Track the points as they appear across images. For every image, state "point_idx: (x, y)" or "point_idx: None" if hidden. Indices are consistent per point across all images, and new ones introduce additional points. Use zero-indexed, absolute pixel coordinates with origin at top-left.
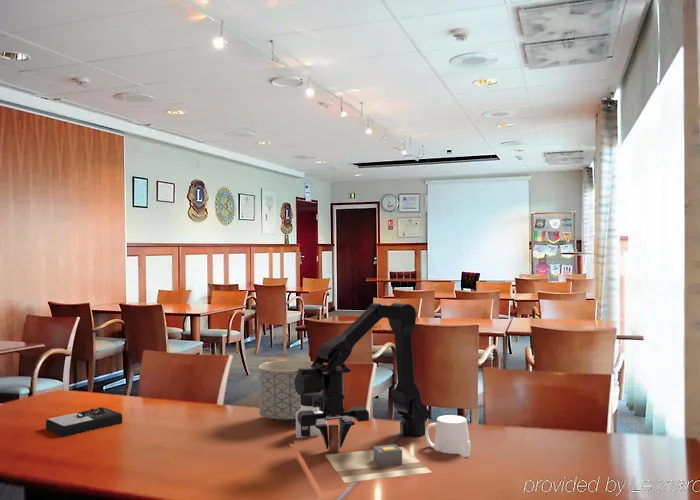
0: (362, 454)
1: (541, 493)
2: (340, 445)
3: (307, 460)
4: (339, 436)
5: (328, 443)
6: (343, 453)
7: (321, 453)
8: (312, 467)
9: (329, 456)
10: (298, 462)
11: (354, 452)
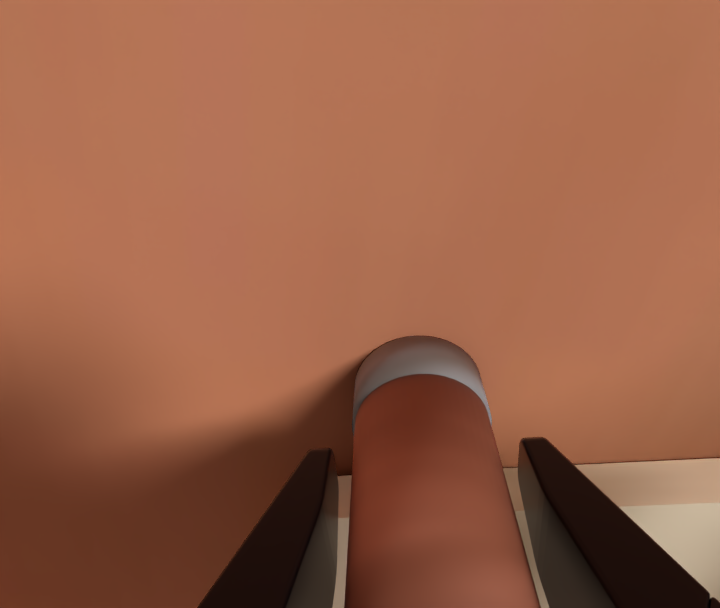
0: (713, 580)
1: None
2: (527, 520)
3: (106, 460)
4: (582, 581)
5: (332, 590)
6: (517, 521)
7: (266, 290)
8: (175, 595)
9: (337, 561)
10: (20, 487)
11: (660, 519)
